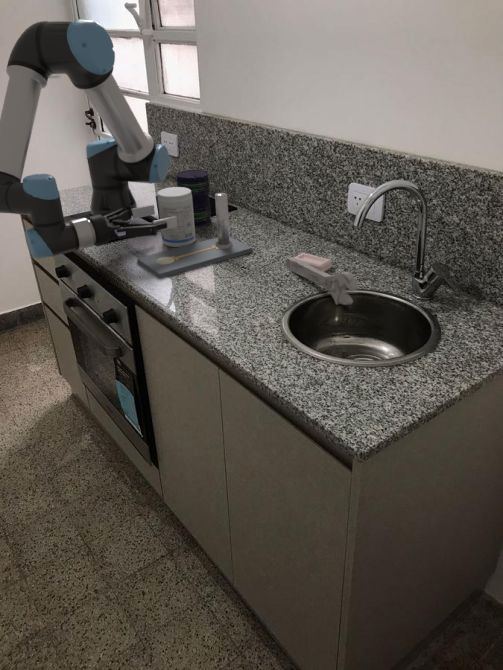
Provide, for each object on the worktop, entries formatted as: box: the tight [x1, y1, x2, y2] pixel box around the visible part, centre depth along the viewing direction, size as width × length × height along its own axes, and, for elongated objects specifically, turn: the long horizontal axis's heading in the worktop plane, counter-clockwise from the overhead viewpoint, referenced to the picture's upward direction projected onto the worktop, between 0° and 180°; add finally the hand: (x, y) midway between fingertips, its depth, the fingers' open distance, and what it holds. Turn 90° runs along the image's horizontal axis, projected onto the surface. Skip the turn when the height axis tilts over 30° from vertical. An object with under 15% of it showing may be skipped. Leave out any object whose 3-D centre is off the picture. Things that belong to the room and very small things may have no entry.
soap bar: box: [293, 252, 333, 273], centre depth 140 cm, size 5×9×2 cm, turn 52°
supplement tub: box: [156, 186, 196, 248], centre depth 155 cm, size 10×10×15 cm
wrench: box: [285, 256, 359, 306], centre depth 128 cm, size 8×2×30 cm
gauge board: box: [136, 235, 253, 279], centre depth 148 cm, size 13×28×1 cm, turn 125°
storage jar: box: [175, 169, 212, 228], centre depth 170 cm, size 10×10×15 cm
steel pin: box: [214, 192, 232, 248], centre depth 149 cm, size 5×5×14 cm
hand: (164, 215), depth 152 cm, fingers open, 13 cm apart
